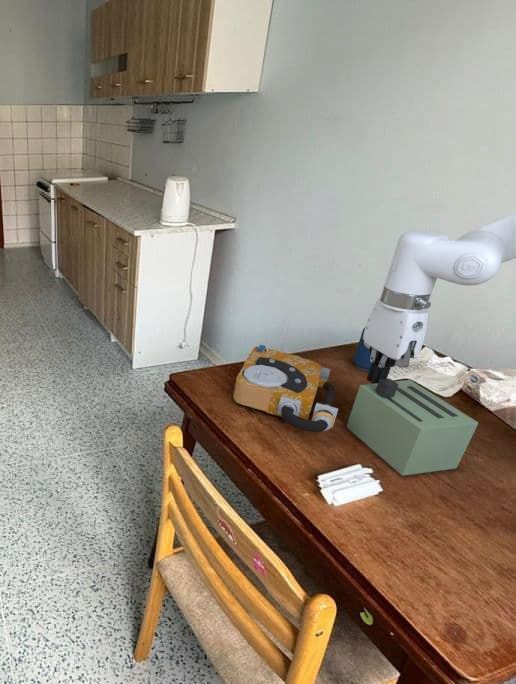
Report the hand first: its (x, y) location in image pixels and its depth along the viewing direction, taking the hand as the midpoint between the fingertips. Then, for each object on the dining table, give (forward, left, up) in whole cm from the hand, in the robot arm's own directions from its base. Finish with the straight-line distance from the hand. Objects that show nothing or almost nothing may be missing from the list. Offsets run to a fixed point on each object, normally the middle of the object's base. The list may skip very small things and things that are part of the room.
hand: (375, 381), depth 98 cm
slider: (0, +3, -1) cm, 3 cm away
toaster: (-4, +6, -13) cm, 15 cm away
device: (+10, -14, -13) cm, 21 cm away
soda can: (-22, -26, -13) cm, 36 cm away
